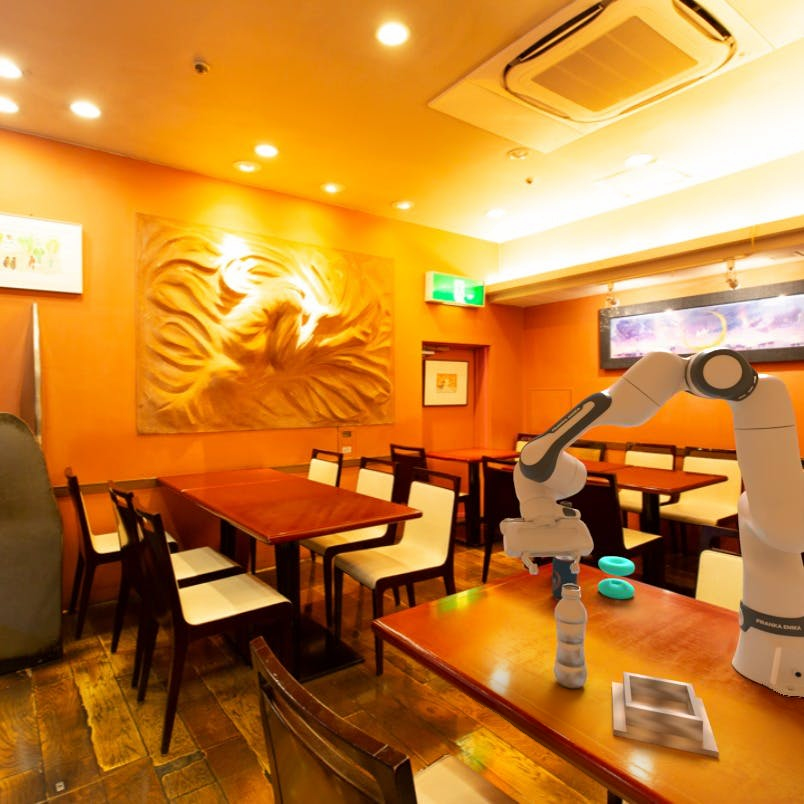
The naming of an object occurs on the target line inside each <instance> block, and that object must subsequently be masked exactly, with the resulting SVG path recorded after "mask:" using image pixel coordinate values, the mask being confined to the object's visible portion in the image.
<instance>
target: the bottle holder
mask: <svg viewBox="0 0 804 804" xmlns="http://www.w3.org/2000/svg"><path fill="white" fill-rule="evenodd" d="M622 675H623V677H622V678H623V681H622V683H620V682H615V681H611V692H612V693H611V695H612V697H611V698H612V722H613V723H612V725H613V728H612V729H613V736H616V737H617V736H618V737H620V738H626V739H631V740H636V741H640V742H645V743H649V744H654V745H658V746H659V745H660V746H663V747H667V748H672V749H676V750H681V751H686V752H688V753H689V752H690V753H695V754H697V755H698V754H699V755H704V756H707V755H708V756H709V757H712V756H714V757H713V758H716V757H719V758H720V756H719V755H720V752H719V748H718V745H717V742H716V739H715V737H714V733H713V730H712V727H711V724H710V720H709V718H708V717H709V716H708V715H707V711H706V708H705V705H704V701H703V699H702V698H701V697H696V693H695V689H694V687H693V684H692V683H688V682H682V681H677V680H671V679H665V678H660V677H654V676H648V675H645V674H643V675H642V674H638V673H632V672H627V671H623V674H622Z"/></svg>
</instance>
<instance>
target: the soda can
mask: <svg viewBox="0 0 804 804" xmlns="http://www.w3.org/2000/svg"><path fill="white" fill-rule="evenodd" d="M574 562H575V560H572V557H571V556H555V558H554V560H553V559H552V578H551V579H552V582H551V585H552V586H551V588H552V590H551V593H552V595H553V597H554V599H555V600H556V601H558V602H559V601H560V600H561V599H562V598H563V597H562V596H561V593H562V586H563V585H565V584H573V585H577V586H578V576H577V574H573V573H571V570H570V566H571V564H572V563H574Z"/></svg>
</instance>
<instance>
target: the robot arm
mask: <svg viewBox="0 0 804 804" xmlns="http://www.w3.org/2000/svg"><path fill="white" fill-rule="evenodd" d="M681 392H686V393H687V394H691V395H693V396H694V397H695V396H696V397H697V398H702V399H706V400H723V401H724V402H725V403H727V405H728V407H729V409H730V412H731V414H732V425H733V434H734V441H735V442H734V443H735V444H734V445H735V449H736V450H735V452H736V460H737V465H738V469H739V471H740V474H741V478H742V481H743V486H744V490H743V492H742V493H741V494H740V495H739V498H738V500H737V506H736V507H737V515H738V519H737V520H738V529H739V532H738V533H739V541H740V542H739V544H740V552H741V559H742V560H741V561H742V588H741V589H742V592H741V593H742V594H741V595H742V599H740V601H739V607H738V624H739V627H740V629H739V636H738V637H739V638H738V643H737V646H736V650H735V653H734V655H733V658H732V661H731V664H732V667H734V670H736V671H737V672H738V673H739V674H740V675H741V676H744V677H746V678H747V679H749V680H751V681H754V682H756V683H758V684H761V685H762V684H763V686H764V687H767V688H769V689H771V690H772V689H773V690H772V691H774V692H775V691H776V692H775V693H777V692H778V693H777V694H779V693H780V694H779V695H781V694H783V695H782V696H784V695H788V696H787V697H790V696H803V697H804V563H803V559H802V553H804V468H803V465H802V461H801V453H800V447H799V446H800V445H799V436H798V430H797V423H796V422H797V421H796V416H795V410H794V406H793V403H792V399H791V396H790V393H789V390H788V387H787V385H786V383H785V381H784V380H782V379H781V377H778V376H776V375H774V374H773V375H771V374H765V373H758V372H757V371H756V370H755V368H754V367H753V366H751V364H750V363H749V362H748V360H747V359H746V357H744V356H743V355H742V354H741V353H740V352H739V351H737V350H735V349H733V348H730V347H727V346H714V347H709V348H705V349H702V350H700V351H697V352H696V353H695V354H692V355H688V356H687V357H682V356H681V355H679V354H677V353H676V352H674V351H672V350H669V349H667V348H666V349H665V348H655V349H652V350H651V351H649V352H648V353H647V354H645V355H644V356H643V357H641V358H640V359H638V360H637V361H636V362H635V363H634V364H633V365H631V366H630V367H629V368H628V369H627V370H626V371H625V372H624V373H622V376H621V377H620V378H618V379H617V381H615V382H614V383H613V384H611V385H610V386H609V387H607V388H605V389H604V390H602V391H598V392H594V393H592V394H591V395H590V394H589V396H587V397H585V398H584V399H582V401H580V402H579V403H577V404H576V405H575V406H574V407H572V408H571V409H570V410H569V411H568V412H567V413H565V415H563V416H562V417H561V418H560V419H558V420H557V421H556V422H555V423H554V424H552V425H551V426H550V427H549V428H548V429H546V430H545V431H544V432H543V433H540V434H539V435H537V436H536V437H534V438H532V439H531V440H529V441H528V442H526V443H525V445H523V447H522V448H521V450H520V452H519V455H518V456H519V457H518V461H517V463H516V464H515V465H514V468H513V483H514V485H513V486H514V489H515V494H516V497H517V499H518V501H519V512H520V516H521V517H516V518H510V517H508V518H504V519H503V520H501V522H500V523H499V529H500V533H501V535H503V549H504V554H505V555H506V556H507V557H508V558H521V562H522V563H523V564H524V565H525V566H526V567H527V568H528V570H529V574H530V575H538V573H539V568H538V563H533V562H532V560H531V559H530V558H536V557H538V558H539V557H540V558H542V557H544V558H545V557H553V556H571V557H572V560H575V562H574V563H572V564H571V566H570V570H571V573H573V574H577V573H578V574H579V573H580V572H581V569H580V560H581V557H587V556H589V555H590V554H591V553H592V551H593V550H594V545H595V544H594V541H593V538H592V536H591V535H592V534H591V533H590V530H589V528H588V527H587V524H586V523H584V521H582V520H581V516H582V515H581V512H580V510H578V509H574V508H572V507H571V508H568V507H565V506H562V505H560V503H559V504H558V503H557V501H561V500H565V499H568V498H569V497H572V496H575V495H576V494H578V493H580V492H581V491H582V490H583V489H584V488H585V486H586V483H587V480H588V470H587V467H586V465H585V464H584V462H582V461H580V460H579V459H578V458H577V457H575V456H573V455H572V454H570V453H568V452H566V449H567V448H569V447H570V446H571V445H572V444H573V443H575V442H577V440H579V438H581V437H582V436H583V435H584V434H586V433H587V432H588V431H589V430H591V429H593V428H595V427H599V426H616V427H621V428H634V427H636V428H637V427H640V426H642V425H644V424H645V423H647V422H648V421H650V420H651V419H652V418H653V417H654V416H655V415H656V414H657V413H658V412H659V411H660V410H661V408H663V407H664V405H666V403H667V402H668V401H670V400H671V399H672V397H674V396H676V395H677V394H679V393H681Z"/></svg>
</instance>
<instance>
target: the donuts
mask: <svg viewBox="0 0 804 804" xmlns="http://www.w3.org/2000/svg"><path fill="white" fill-rule="evenodd" d="M597 565H598V567H599V569H600V570H602V572H603V573H606V574H608V575H611V576H619V577H623V576H624V577H625V576H629V575H631V574H633V573H634V572H635V569H636V566H635V564H634V562H633V561H631V560H629V559H627V558H625V557H622V556H620V557H619V556H603V557H601V558H600V559H599V560H598V564H597ZM597 588H598V591H599V592H600V593H601V595H603V596H606V597H608V598H611V599H617V600H625V599H626V600H627V599H630V598H632V597H633V596H634V595H635V588H634V587H633V585H632V584H631V583H629V582H628V581H626V580H624V579H623V580H622V579H621V578H620V579H619V578H605V579H602V580H601V581H599V583H598V584H597Z"/></svg>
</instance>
